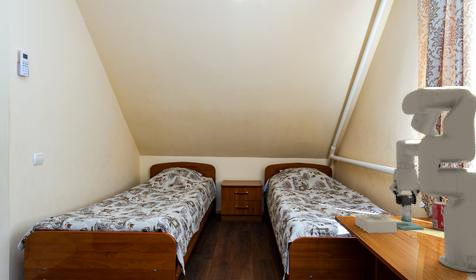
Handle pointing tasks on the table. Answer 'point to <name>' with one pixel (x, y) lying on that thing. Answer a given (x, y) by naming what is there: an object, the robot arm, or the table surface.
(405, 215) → the handwheel peg
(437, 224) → the soda can
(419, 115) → the robot arm
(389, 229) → the block
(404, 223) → the pad
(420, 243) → the table surface
